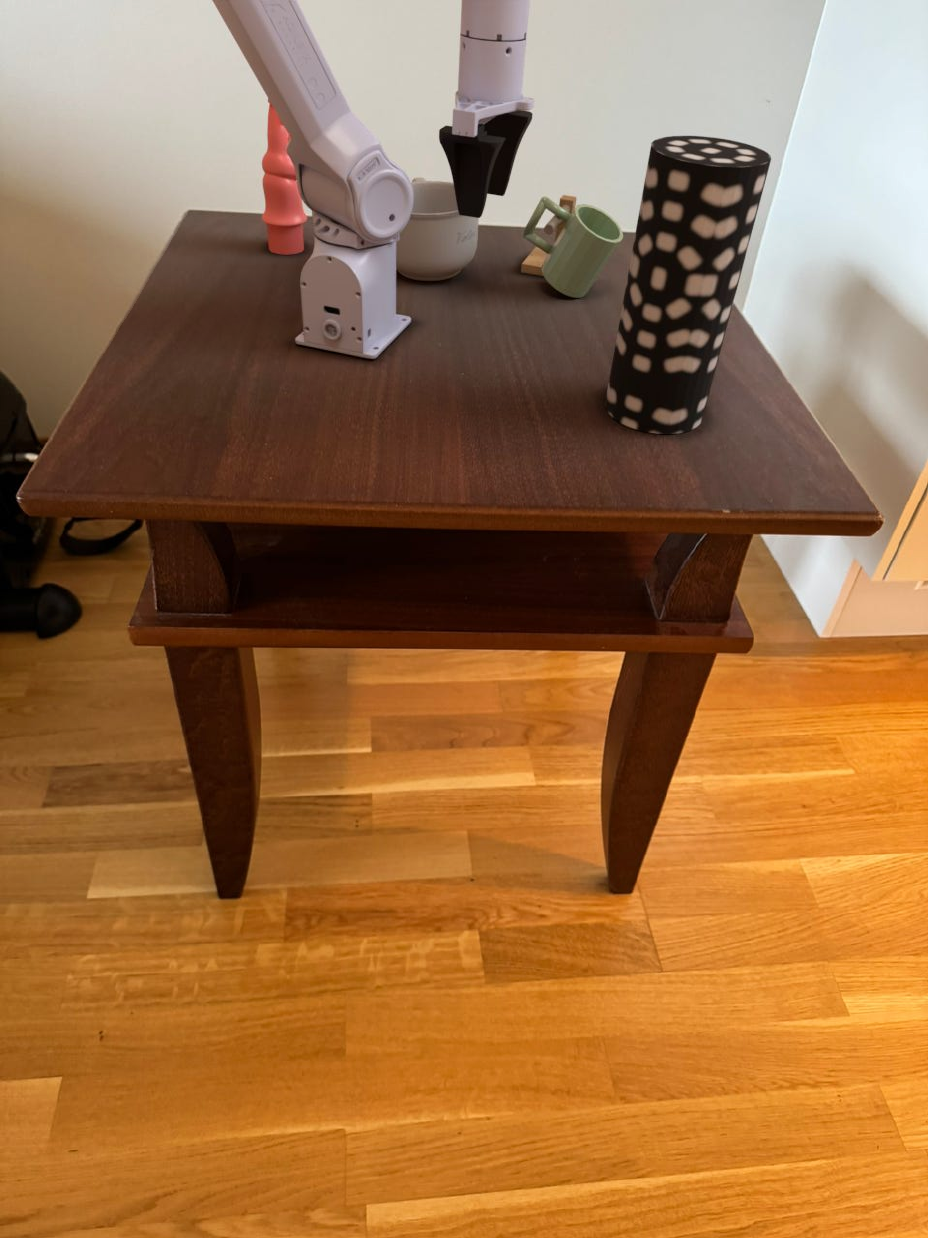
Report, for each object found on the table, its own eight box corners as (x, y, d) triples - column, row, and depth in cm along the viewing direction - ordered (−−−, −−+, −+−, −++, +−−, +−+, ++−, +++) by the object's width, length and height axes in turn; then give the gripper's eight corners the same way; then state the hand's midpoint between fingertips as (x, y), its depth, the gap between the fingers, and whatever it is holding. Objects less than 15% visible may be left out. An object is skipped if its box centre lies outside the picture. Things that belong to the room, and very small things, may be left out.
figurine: (320, 247, 99) (312, 96, 89) (290, 259, 96) (278, 104, 86) (285, 237, 101) (273, 88, 91) (255, 249, 98) (239, 95, 88)
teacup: (474, 293, 91) (480, 212, 86) (371, 286, 91) (370, 205, 86) (476, 247, 102) (480, 173, 97) (383, 242, 102) (383, 167, 96)
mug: (592, 283, 95) (628, 228, 90) (579, 305, 91) (615, 249, 86) (523, 235, 94) (555, 177, 89) (507, 255, 90) (539, 195, 85)
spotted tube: (636, 378, 78) (686, 129, 65) (719, 410, 75) (790, 153, 62) (585, 409, 73) (628, 147, 60) (672, 445, 70) (738, 174, 57)
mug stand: (559, 302, 91) (569, 222, 86) (504, 292, 92) (511, 212, 87) (584, 264, 100) (595, 189, 95) (534, 255, 101) (542, 180, 96)
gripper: (515, 53, 69) (500, 232, 78) (558, 30, 79) (541, 190, 88) (431, 43, 70) (426, 220, 79) (484, 21, 81) (475, 180, 90)
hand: (482, 204), depth 84 cm, fingers open, 7 cm apart
